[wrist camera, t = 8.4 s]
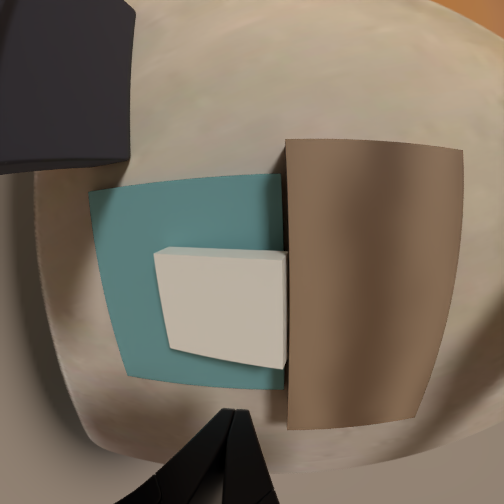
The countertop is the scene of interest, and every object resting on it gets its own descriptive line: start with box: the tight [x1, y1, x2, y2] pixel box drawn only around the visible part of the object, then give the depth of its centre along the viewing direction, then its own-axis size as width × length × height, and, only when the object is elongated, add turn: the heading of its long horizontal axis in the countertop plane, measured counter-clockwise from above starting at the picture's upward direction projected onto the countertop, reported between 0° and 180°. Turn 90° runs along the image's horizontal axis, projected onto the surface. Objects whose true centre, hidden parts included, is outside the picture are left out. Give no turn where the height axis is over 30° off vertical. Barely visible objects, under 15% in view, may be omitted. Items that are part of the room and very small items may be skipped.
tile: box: [154, 247, 290, 369], centre depth 15 cm, size 7×6×2 cm
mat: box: [88, 173, 284, 390], centre depth 17 cm, size 12×14×1 cm
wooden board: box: [285, 139, 464, 430], centre depth 15 cm, size 9×17×3 cm, turn 3°
